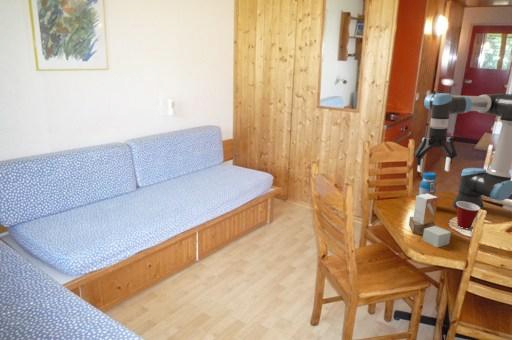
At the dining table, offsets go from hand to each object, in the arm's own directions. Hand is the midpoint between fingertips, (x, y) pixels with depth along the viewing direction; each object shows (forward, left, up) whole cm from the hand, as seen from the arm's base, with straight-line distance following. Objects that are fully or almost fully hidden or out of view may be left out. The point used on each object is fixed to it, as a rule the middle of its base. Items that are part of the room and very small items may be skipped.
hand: (433, 171), depth 185 cm
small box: (+3, +3, -25) cm, 25 cm away
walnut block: (+3, +3, -30) cm, 30 cm away
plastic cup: (-20, 0, -30) cm, 36 cm away
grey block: (+3, +16, -30) cm, 34 cm away
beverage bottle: (-13, -28, -30) cm, 43 cm away
